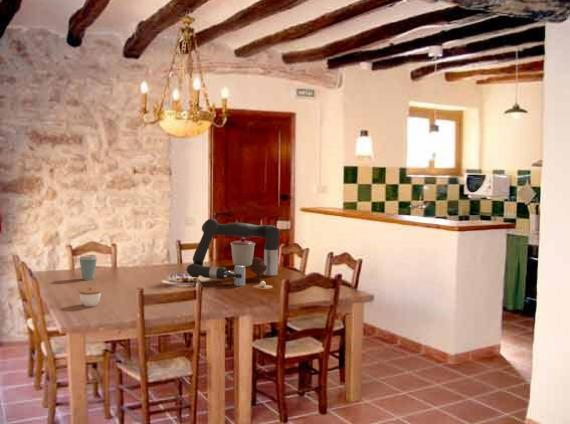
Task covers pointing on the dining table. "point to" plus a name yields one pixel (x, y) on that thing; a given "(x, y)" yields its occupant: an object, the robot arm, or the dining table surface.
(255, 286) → the cork mat
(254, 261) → the ice cream bowl
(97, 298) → the lidded jar
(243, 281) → the silver soda can
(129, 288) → the dining table surface
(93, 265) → the disposable coffee cup
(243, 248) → the canister
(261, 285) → the egg
